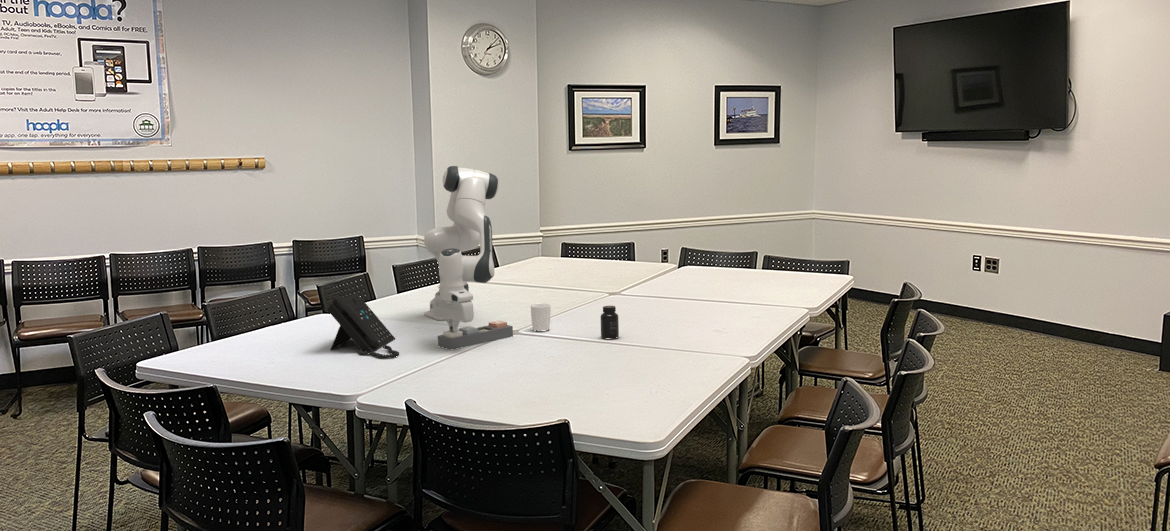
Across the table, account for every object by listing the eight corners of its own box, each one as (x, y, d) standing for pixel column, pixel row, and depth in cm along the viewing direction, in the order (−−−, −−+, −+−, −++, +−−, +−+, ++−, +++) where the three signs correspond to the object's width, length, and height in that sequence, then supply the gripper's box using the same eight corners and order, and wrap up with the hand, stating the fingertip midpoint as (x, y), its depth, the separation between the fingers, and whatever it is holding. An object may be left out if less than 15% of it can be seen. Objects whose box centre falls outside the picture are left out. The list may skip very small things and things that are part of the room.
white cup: (550, 332, 329) (549, 307, 327) (530, 332, 329) (529, 307, 328) (551, 327, 337) (551, 303, 335) (531, 328, 337) (531, 303, 335)
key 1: (443, 338, 308) (443, 331, 307) (454, 336, 311) (454, 329, 311) (451, 340, 304) (451, 333, 304) (462, 338, 308) (462, 331, 307)
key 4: (488, 328, 322) (488, 322, 322) (498, 326, 326) (498, 320, 326) (496, 330, 319) (496, 324, 319) (507, 328, 322) (507, 321, 322)
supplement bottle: (619, 335, 322) (619, 304, 320) (618, 339, 315) (618, 308, 313) (601, 335, 322) (601, 304, 321) (600, 339, 316) (599, 308, 314)
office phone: (393, 360, 290) (391, 302, 287) (317, 357, 295) (313, 301, 292) (423, 340, 319) (421, 288, 316) (353, 338, 323) (350, 286, 321)
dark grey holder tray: (438, 346, 308) (437, 335, 308) (499, 333, 328) (499, 323, 328) (450, 349, 303) (450, 339, 302) (512, 336, 323) (512, 326, 322)
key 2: (459, 335, 313) (458, 328, 312) (469, 332, 316) (469, 325, 316) (467, 337, 309) (466, 330, 309) (478, 334, 313) (477, 327, 312)
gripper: (428, 291, 310) (429, 328, 312) (461, 298, 296) (463, 336, 298) (442, 289, 315) (443, 325, 317) (476, 295, 301) (477, 333, 302)
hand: (453, 331), depth 307 cm, fingers closed
